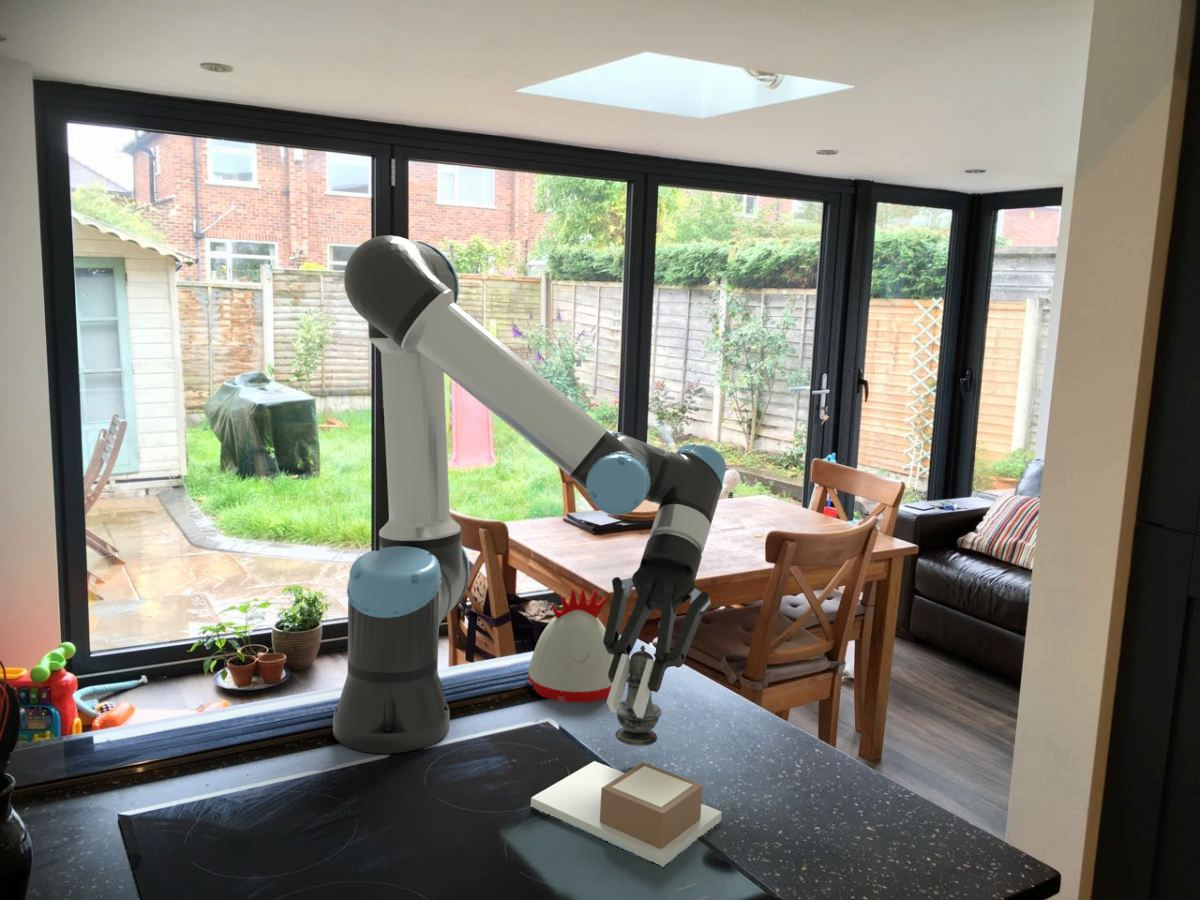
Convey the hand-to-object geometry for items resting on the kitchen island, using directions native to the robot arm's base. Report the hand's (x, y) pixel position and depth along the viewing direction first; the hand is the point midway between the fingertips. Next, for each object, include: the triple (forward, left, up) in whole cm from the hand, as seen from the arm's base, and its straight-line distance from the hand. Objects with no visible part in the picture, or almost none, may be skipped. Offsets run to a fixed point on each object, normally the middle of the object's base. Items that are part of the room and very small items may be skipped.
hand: (624, 710), depth 114 cm
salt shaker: (-1, +5, -6) cm, 8 cm away
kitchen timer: (-23, +20, -10) cm, 32 cm away
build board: (+5, -6, -9) cm, 12 cm away
